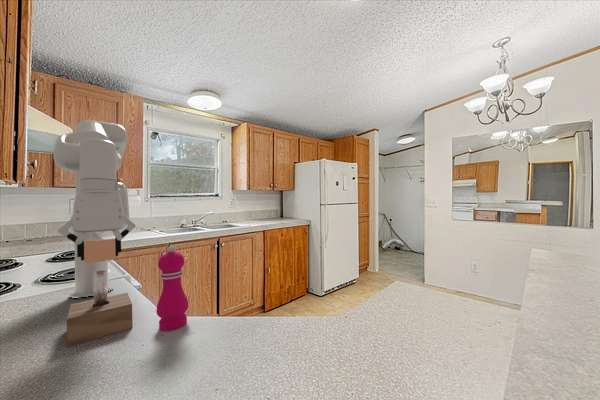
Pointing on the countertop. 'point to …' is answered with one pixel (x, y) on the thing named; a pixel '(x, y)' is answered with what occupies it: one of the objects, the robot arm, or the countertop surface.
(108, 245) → the cardboard-colored cube
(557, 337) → the countertop surface
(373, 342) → the countertop surface
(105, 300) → the post
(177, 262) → the pepper mill
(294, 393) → the countertop surface
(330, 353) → the countertop surface
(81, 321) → the post block
